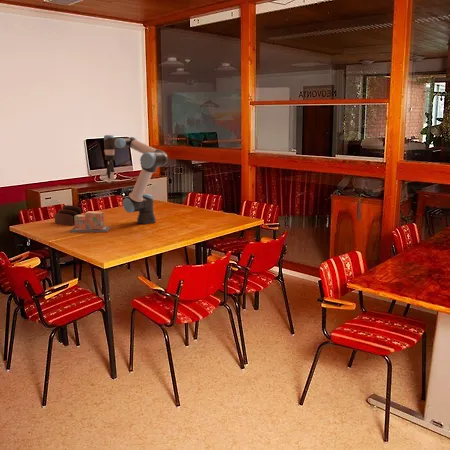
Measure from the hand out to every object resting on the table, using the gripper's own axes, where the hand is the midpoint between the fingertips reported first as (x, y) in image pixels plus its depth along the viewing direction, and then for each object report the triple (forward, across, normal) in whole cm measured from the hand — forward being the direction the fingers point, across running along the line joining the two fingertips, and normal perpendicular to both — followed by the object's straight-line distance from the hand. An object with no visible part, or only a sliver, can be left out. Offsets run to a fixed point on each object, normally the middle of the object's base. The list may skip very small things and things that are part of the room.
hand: (111, 181), depth 397 cm
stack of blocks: (+31, +33, -12) cm, 47 cm away
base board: (+33, +33, -11) cm, 48 cm away
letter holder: (+33, +8, -34) cm, 48 cm away
